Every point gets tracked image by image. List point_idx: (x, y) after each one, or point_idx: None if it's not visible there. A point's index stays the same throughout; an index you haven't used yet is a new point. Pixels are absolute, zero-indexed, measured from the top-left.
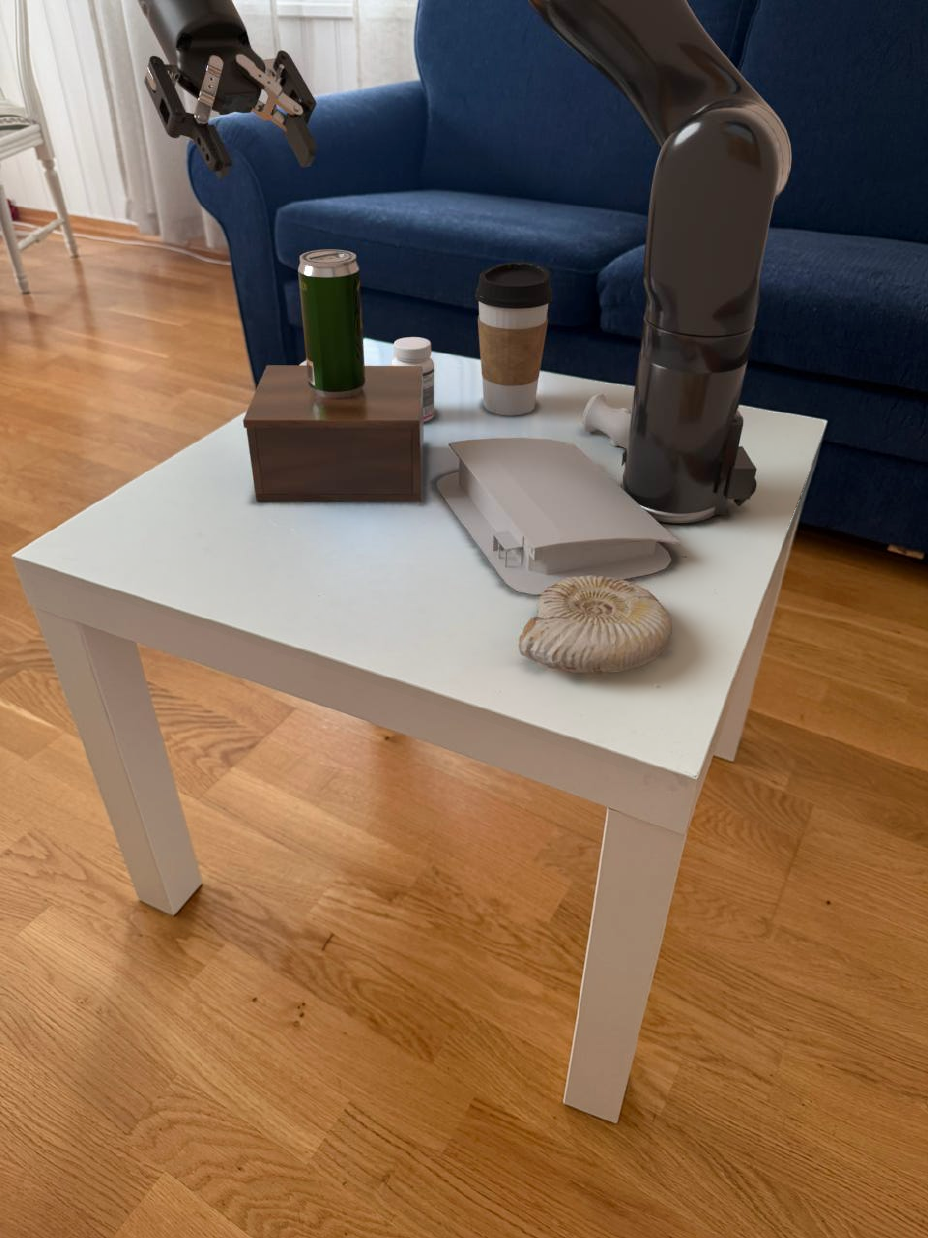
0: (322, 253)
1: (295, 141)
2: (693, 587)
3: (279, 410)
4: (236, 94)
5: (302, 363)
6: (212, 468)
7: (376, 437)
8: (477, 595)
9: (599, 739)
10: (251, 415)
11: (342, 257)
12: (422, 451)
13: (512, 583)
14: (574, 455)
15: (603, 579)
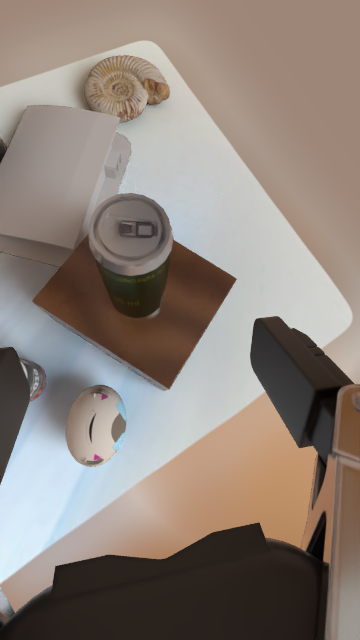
0: (128, 247)
1: (2, 422)
2: (48, 98)
3: (203, 279)
4: (187, 563)
5: (105, 442)
6: (225, 376)
7: None
8: (150, 152)
9: (168, 62)
10: (228, 282)
11: (109, 226)
12: None
13: (128, 149)
14: None
15: (99, 98)
